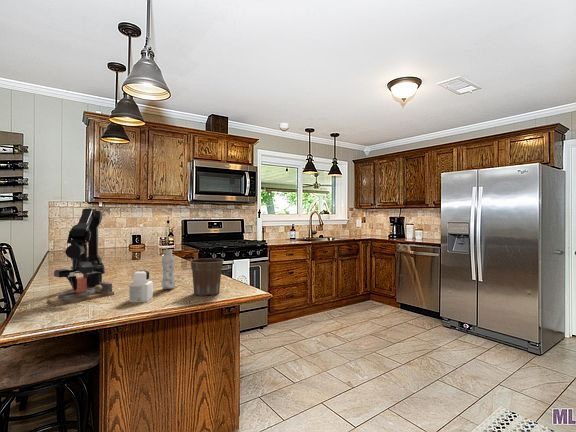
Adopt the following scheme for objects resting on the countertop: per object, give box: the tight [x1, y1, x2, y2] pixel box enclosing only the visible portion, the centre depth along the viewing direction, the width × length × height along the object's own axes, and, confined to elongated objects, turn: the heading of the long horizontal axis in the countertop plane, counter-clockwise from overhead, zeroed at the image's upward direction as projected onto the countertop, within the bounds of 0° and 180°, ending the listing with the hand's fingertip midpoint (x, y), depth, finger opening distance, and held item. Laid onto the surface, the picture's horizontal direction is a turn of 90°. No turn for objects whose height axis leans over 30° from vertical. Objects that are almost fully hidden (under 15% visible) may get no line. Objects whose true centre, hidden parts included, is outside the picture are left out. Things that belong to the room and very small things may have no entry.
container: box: [128, 269, 154, 303], centre depth 151 cm, size 8×8×13 cm
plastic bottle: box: [161, 249, 176, 290], centre depth 172 cm, size 6×7×20 cm
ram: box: [72, 276, 95, 295], centre depth 154 cm, size 8×4×8 cm, turn 146°
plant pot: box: [189, 257, 225, 297], centre depth 165 cm, size 16×16×16 cm
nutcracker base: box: [46, 280, 115, 307], centre depth 153 cm, size 24×10×5 cm, turn 146°
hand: (79, 289), depth 152 cm, fingers closed on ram, 4 cm apart
